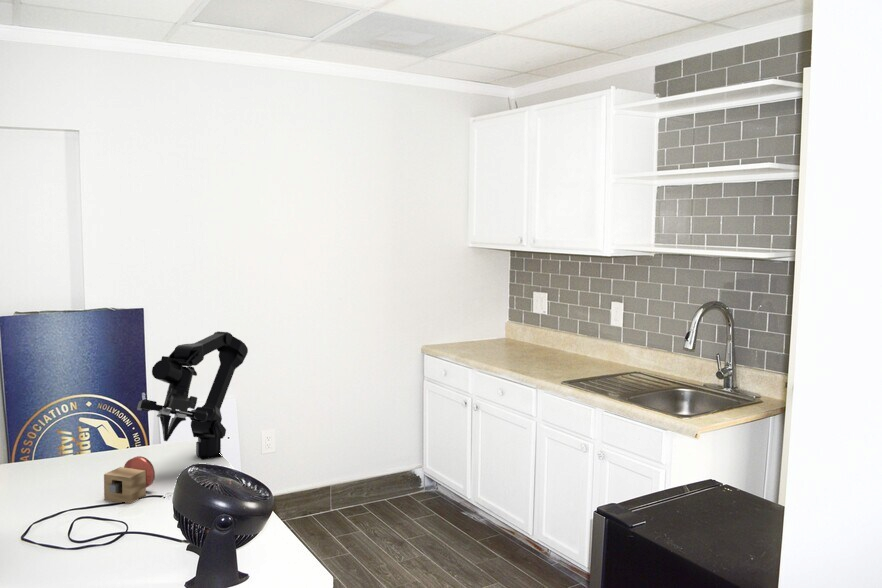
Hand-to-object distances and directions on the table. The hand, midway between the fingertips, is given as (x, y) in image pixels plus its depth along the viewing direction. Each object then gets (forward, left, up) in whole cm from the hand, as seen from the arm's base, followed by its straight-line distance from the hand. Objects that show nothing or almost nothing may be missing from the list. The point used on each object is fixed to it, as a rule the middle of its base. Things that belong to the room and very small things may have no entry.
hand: (165, 441), depth 199 cm
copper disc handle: (+12, +10, -10) cm, 19 cm away
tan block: (+13, +11, -11) cm, 20 cm away
